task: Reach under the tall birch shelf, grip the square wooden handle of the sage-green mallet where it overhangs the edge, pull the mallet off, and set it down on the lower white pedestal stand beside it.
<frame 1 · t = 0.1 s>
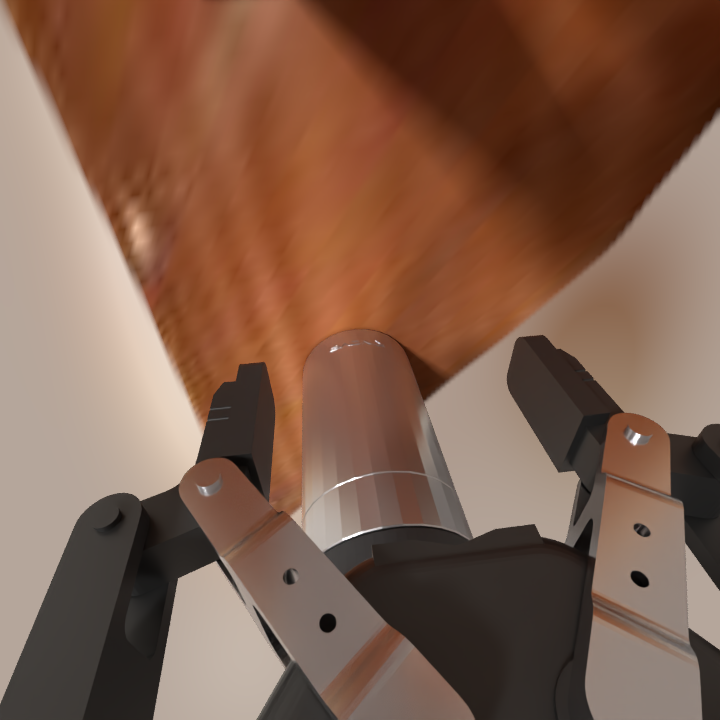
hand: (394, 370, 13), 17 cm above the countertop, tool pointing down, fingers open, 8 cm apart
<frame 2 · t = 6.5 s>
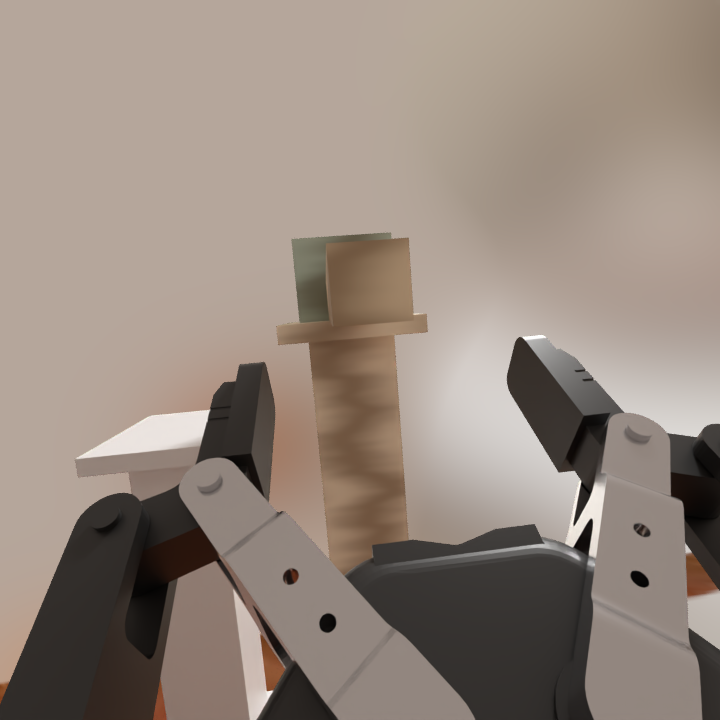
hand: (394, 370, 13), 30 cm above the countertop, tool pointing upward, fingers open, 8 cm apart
mallet: (351, 319, 22), point 32 cm above the countertop, touching tall shelf
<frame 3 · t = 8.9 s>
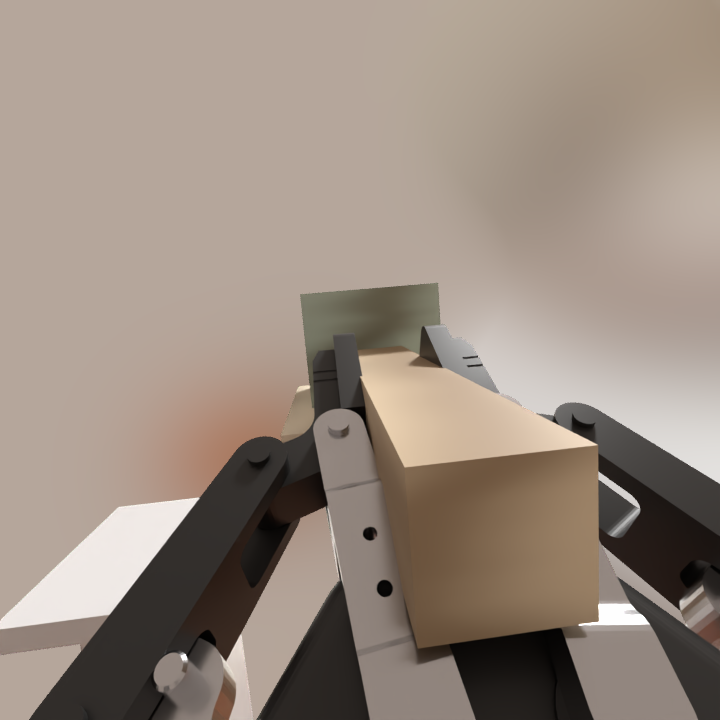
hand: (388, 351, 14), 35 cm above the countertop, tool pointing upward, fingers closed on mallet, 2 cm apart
mallet: (389, 419, 15), point 32 cm above the countertop, touching gripper, tall shelf
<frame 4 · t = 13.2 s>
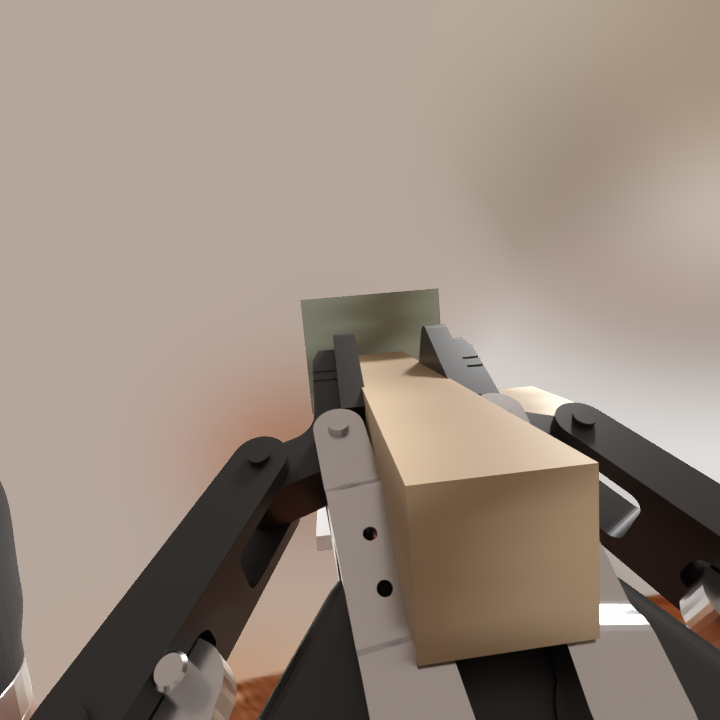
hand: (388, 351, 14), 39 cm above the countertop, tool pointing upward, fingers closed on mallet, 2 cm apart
mallet: (389, 426, 15), point 36 cm above the countertop, touching gripper
when the fingers open (30 cm above the countertop, at t = 17.5 s): mallet stays where it is, resting on white pedestal stand.
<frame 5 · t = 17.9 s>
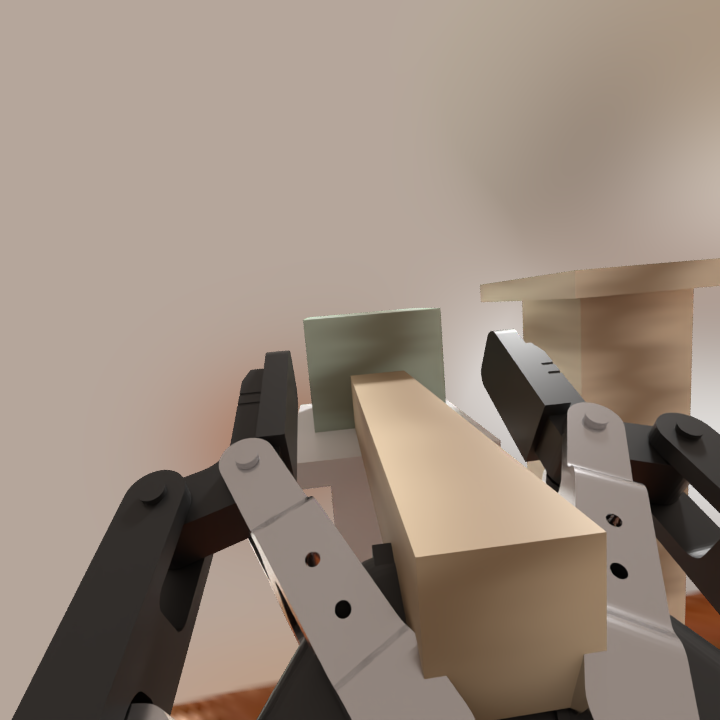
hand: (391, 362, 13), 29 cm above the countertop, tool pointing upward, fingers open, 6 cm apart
mallet: (392, 448, 15), point 26 cm above the countertop, touching white pedestal stand
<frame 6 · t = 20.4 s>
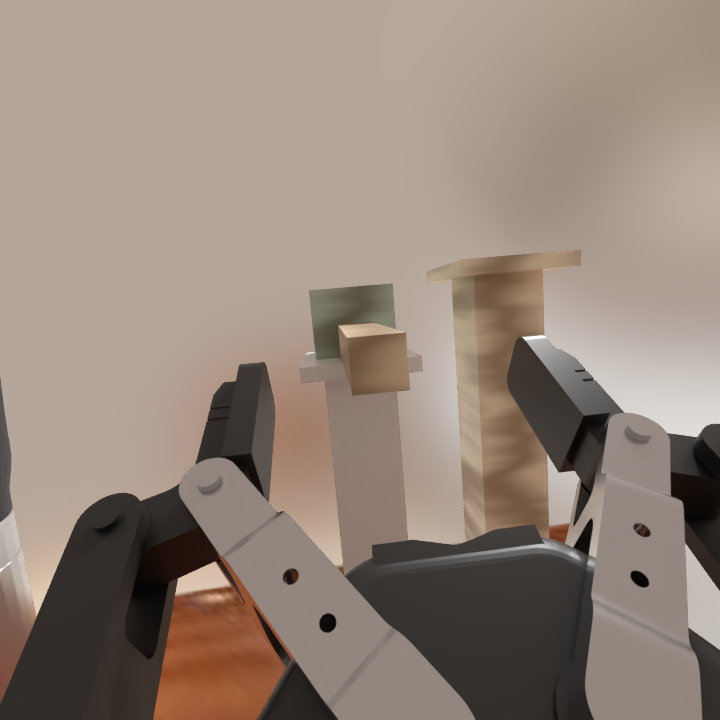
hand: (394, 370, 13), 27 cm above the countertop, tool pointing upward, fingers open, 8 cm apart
tall shelf: (508, 638, 35), on the countertop
white pedestal stand: (382, 657, 34), on the countertop
mallet: (360, 361, 26), point 26 cm above the countertop, touching white pedestal stand
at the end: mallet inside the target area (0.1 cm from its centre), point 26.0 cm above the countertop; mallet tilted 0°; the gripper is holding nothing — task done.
